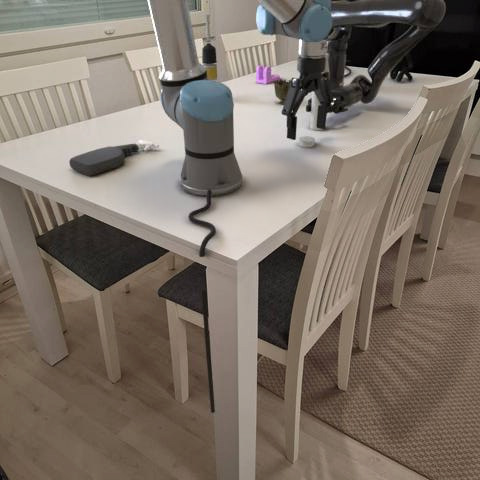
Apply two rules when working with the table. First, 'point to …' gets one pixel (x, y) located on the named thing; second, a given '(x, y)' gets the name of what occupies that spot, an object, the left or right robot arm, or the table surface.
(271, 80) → the bracket
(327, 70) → the bottle
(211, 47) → the yellow black flask
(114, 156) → the spray bottle
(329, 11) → the left robot arm
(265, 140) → the table surface
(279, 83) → the cup
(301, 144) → the cap
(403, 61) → the squiggle
